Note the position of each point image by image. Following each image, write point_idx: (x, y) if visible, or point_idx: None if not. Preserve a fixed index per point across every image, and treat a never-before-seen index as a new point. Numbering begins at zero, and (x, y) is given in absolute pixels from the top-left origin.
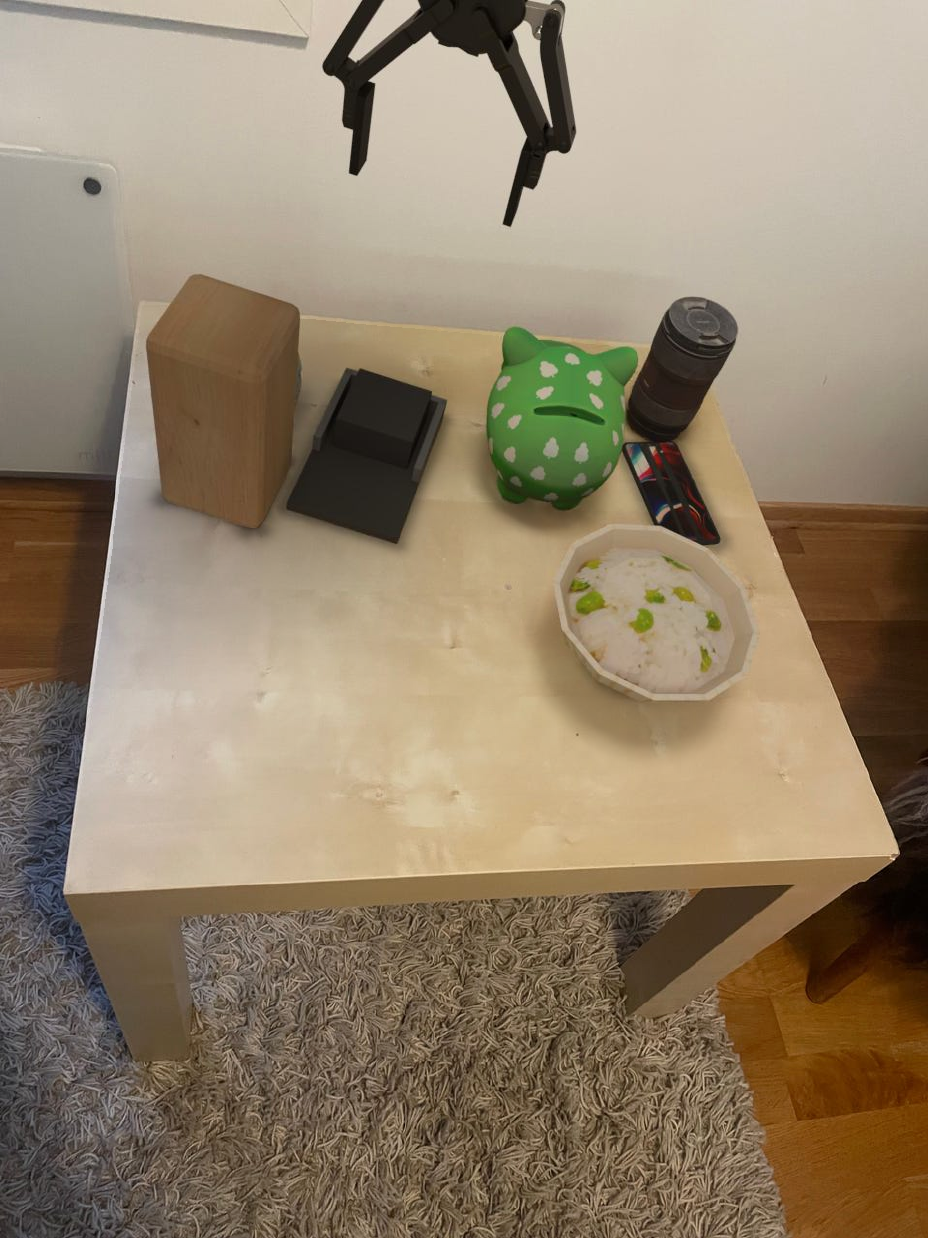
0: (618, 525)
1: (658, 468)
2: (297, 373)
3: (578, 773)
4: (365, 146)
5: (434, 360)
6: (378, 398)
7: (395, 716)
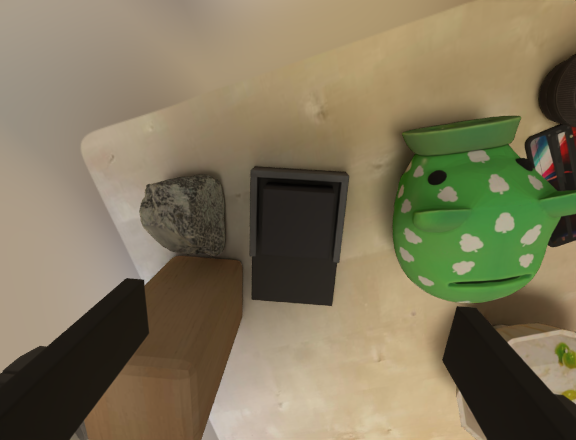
0: (519, 338)
1: (562, 161)
2: (214, 191)
3: (458, 412)
4: (122, 326)
5: (326, 92)
6: (289, 220)
7: (352, 402)
